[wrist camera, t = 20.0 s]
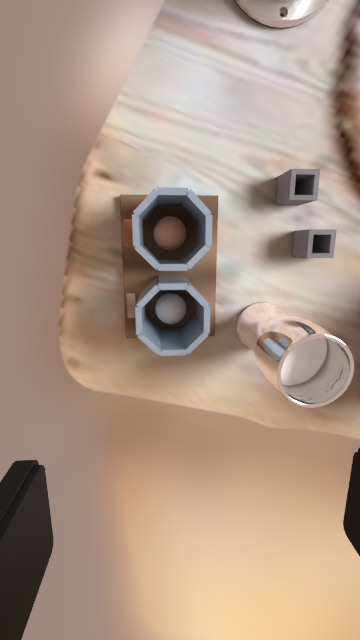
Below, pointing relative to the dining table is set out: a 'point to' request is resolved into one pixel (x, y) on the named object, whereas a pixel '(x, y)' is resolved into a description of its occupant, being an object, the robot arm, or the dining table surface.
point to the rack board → (143, 273)
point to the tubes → (199, 324)
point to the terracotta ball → (169, 233)
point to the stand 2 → (314, 243)
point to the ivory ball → (170, 308)
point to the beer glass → (296, 355)
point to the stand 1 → (306, 186)
